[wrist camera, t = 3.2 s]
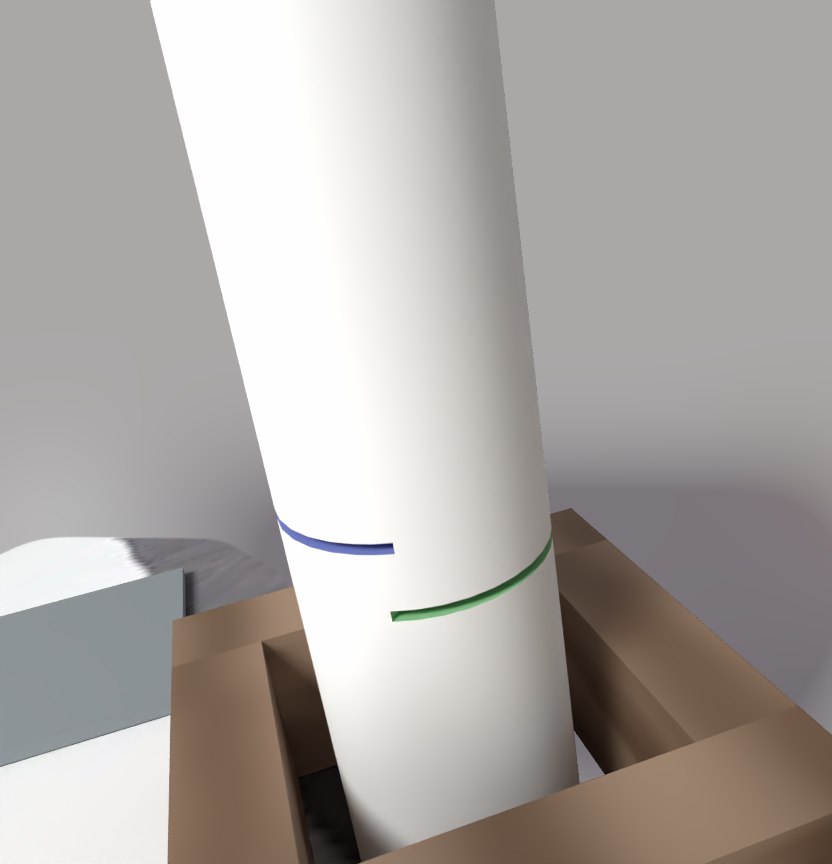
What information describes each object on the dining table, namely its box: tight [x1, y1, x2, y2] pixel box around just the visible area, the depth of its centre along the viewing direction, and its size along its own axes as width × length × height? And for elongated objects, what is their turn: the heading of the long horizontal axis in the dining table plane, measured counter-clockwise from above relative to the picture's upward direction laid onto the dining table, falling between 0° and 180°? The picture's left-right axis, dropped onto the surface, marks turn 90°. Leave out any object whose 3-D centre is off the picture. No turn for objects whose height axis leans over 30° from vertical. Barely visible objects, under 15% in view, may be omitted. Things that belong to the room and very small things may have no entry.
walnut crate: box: [168, 508, 832, 864], centre depth 24 cm, size 16×16×6 cm
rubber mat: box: [0, 568, 186, 766], centre depth 38 cm, size 12×12×1 cm
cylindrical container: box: [150, 0, 580, 862], centre depth 21 cm, size 7×7×25 cm
